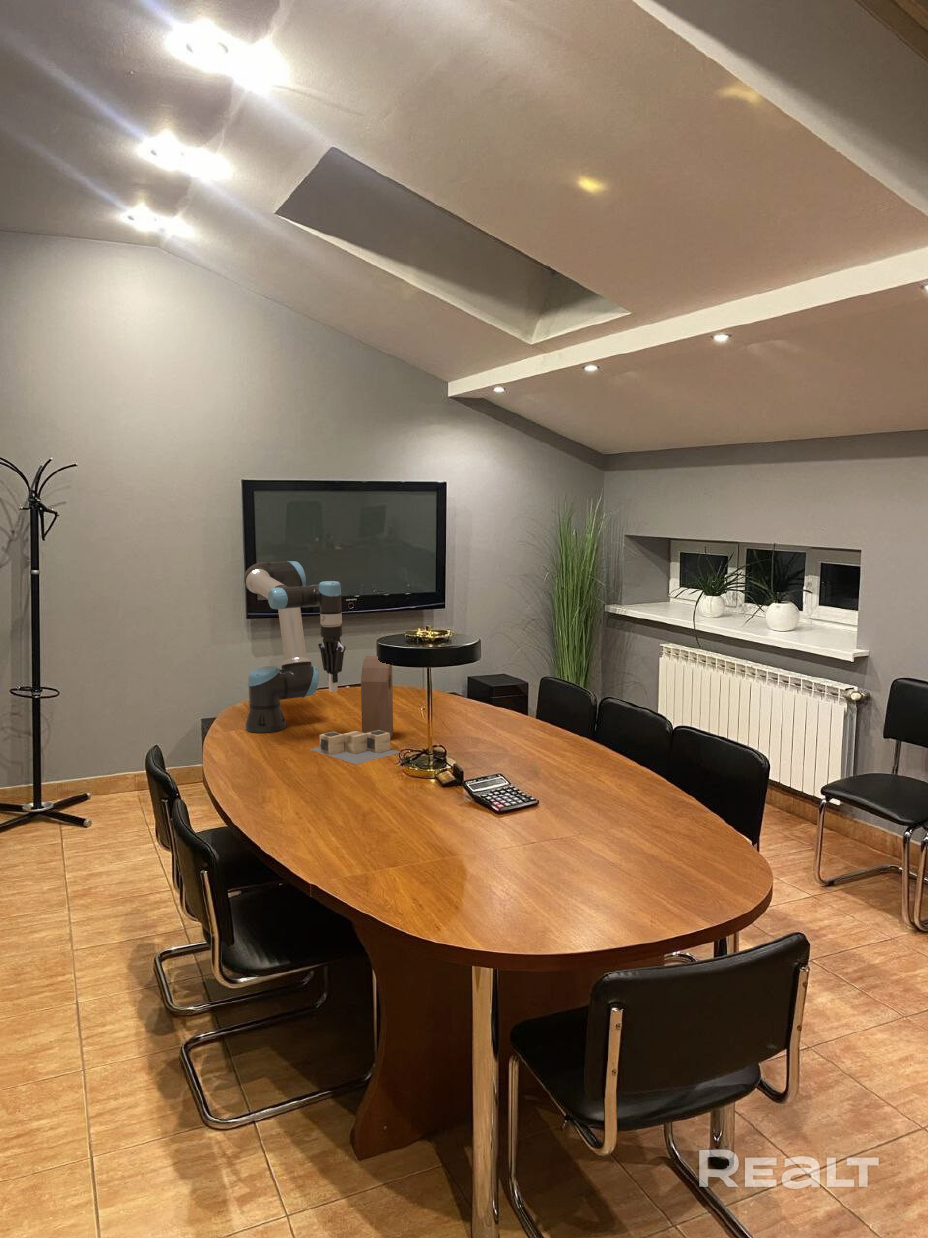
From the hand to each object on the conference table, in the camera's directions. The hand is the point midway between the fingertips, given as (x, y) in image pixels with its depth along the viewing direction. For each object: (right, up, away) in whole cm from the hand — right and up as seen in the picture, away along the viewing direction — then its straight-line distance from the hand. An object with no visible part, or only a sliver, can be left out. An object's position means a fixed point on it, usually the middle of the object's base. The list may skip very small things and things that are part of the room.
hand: (333, 691), depth 329 cm
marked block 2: (+16, -20, -4) cm, 26 cm away
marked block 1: (+1, -20, -6) cm, 21 cm away
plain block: (+8, -20, -5) cm, 23 cm away
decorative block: (+15, -19, +12) cm, 27 cm away
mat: (+8, -21, -5) cm, 23 cm away
